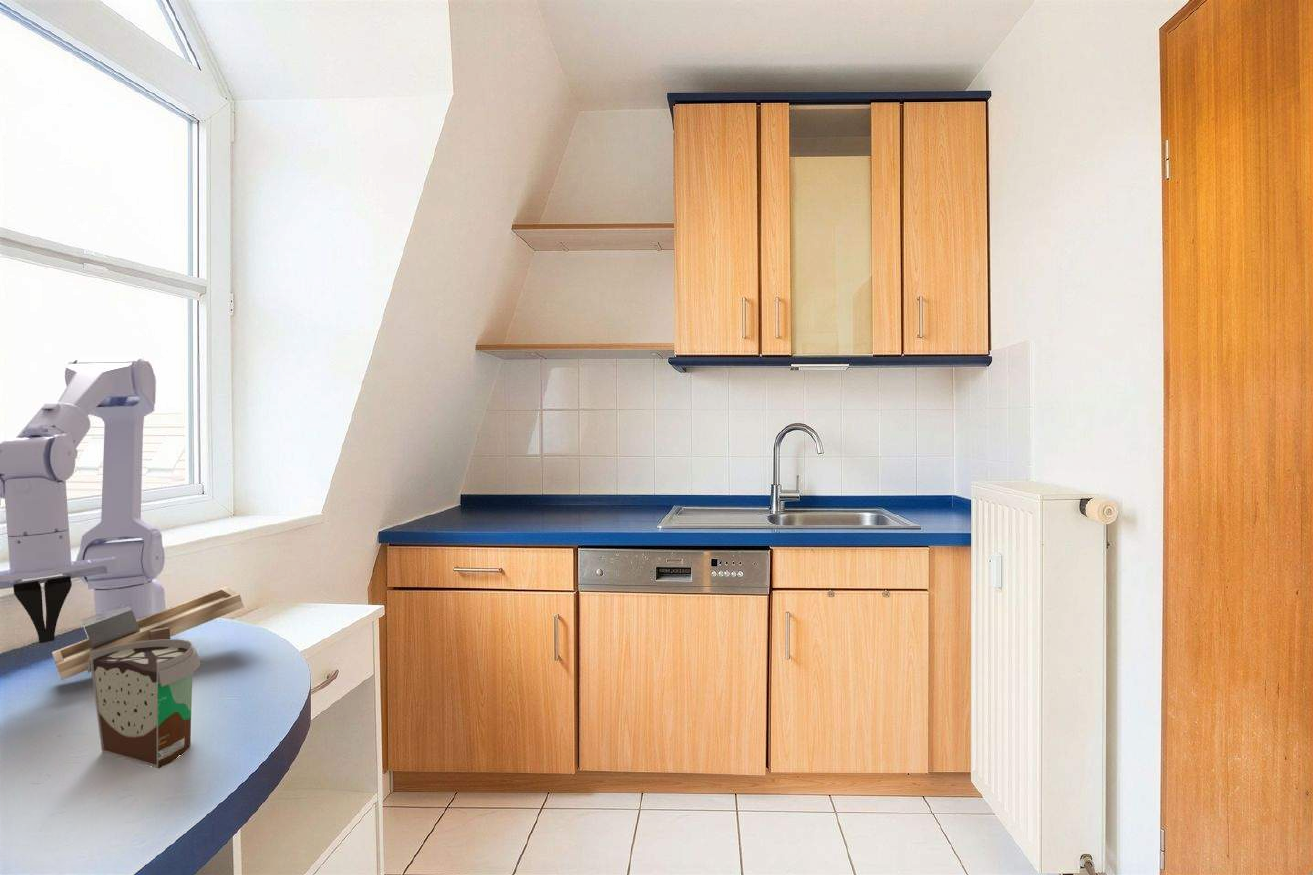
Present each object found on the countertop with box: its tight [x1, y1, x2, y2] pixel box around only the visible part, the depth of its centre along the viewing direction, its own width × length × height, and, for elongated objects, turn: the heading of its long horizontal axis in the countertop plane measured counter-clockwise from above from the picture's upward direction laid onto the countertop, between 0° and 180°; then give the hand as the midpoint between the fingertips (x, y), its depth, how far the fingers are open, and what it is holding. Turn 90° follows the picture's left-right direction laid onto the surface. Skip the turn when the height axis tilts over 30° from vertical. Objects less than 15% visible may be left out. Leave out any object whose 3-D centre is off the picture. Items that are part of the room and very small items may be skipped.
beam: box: [51, 586, 245, 681], centre depth 93 cm, size 20×8×2 cm, turn 134°
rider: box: [80, 604, 140, 650], centre depth 90 cm, size 5×5×4 cm
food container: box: [87, 638, 201, 770], centre depth 68 cm, size 12×6×10 cm, turn 65°
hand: (46, 640), depth 85 cm, fingers closed
